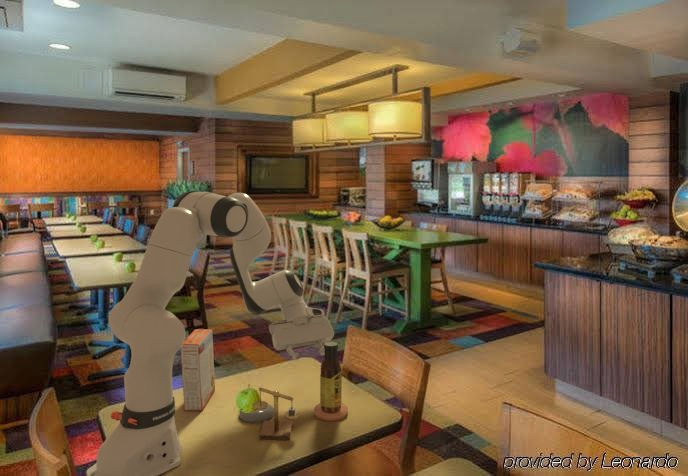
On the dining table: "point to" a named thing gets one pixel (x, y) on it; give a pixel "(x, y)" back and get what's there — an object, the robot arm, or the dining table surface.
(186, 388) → the cracker box
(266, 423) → the brass balance
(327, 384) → the sauce bottle
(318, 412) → the terracotta dish
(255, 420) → the slate dish
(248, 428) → the dining table surface
